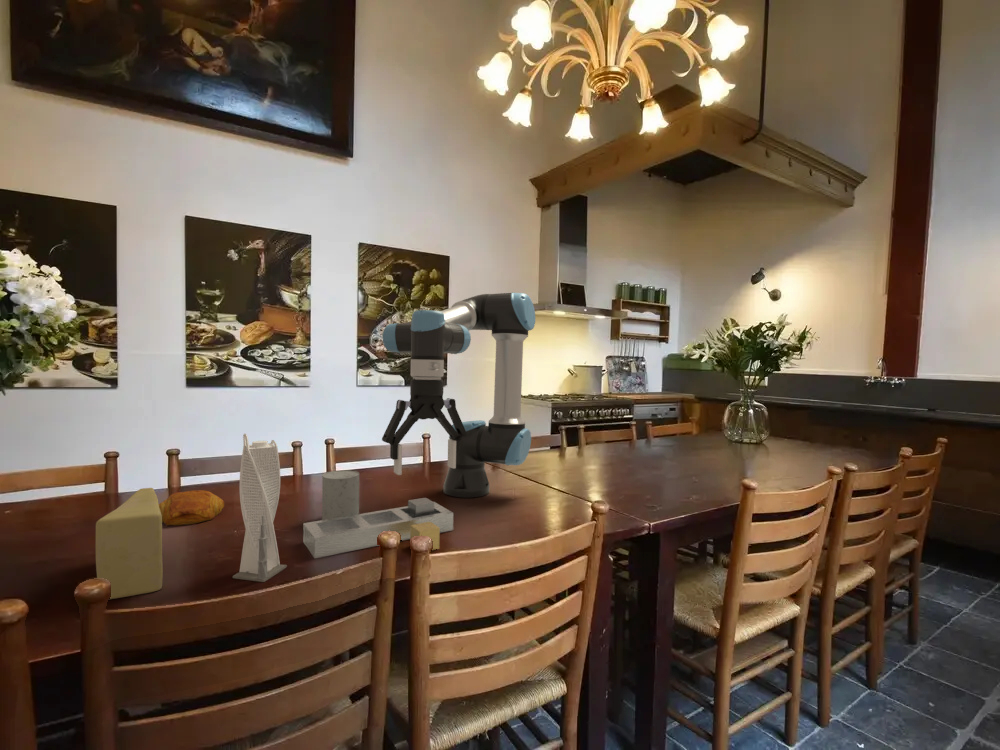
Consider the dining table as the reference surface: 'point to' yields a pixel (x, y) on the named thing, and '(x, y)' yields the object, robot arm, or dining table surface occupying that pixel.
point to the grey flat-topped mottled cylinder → (340, 494)
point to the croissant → (190, 507)
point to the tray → (372, 527)
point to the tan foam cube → (426, 532)
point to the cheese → (131, 546)
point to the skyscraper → (259, 510)
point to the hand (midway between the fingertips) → (425, 470)
